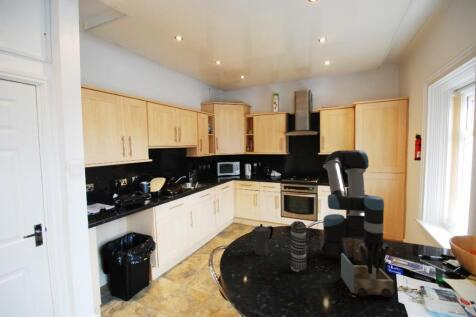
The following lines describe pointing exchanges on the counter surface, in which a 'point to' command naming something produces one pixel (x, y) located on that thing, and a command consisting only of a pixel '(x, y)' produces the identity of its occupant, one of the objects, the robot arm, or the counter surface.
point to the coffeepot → (262, 239)
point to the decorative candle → (298, 246)
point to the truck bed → (371, 282)
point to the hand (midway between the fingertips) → (372, 280)
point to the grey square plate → (347, 272)
